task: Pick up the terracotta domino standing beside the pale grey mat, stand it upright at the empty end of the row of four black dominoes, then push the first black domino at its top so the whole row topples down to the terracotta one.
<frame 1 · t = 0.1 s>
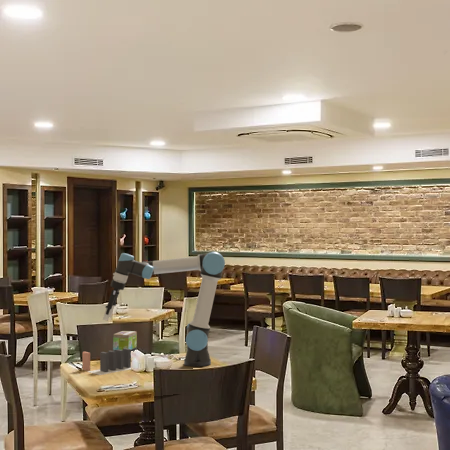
hand: (106, 318, 379), 28 cm above the table, tool tilted 20°, fingers open, 13 cm apart
tea box: (124, 357, 414), on the table
domino mat: (111, 370, 375), on the table
domino 2: (119, 368, 379), resting on domino mat
domino 3: (111, 369, 375), resting on domino mat
domino 1: (126, 367, 383), resting on domino mat
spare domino: (86, 370, 376), on the table
domino 4: (104, 371, 372), resting on domino mat
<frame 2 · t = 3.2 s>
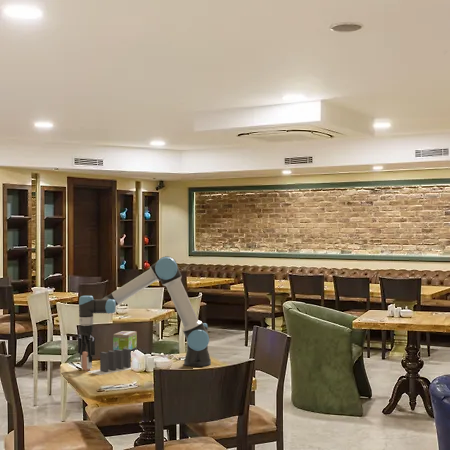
hand: (86, 367, 376), 2 cm above the table, tool pointing down, fingers closed on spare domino, 5 cm apart
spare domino: (86, 370, 376), on the table, touching gripper
everything else where it was.
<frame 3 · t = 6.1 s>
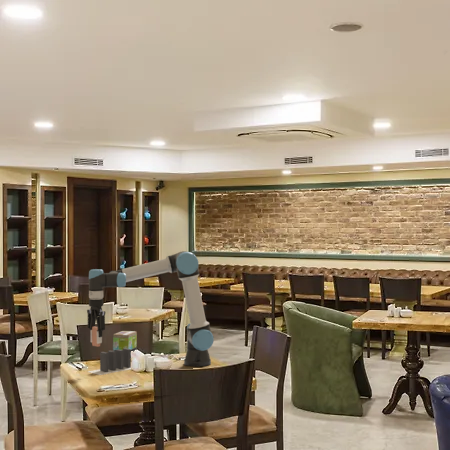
hand: (96, 342, 368), 16 cm above the table, tool pointing down, fingers closed on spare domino, 5 cm apart
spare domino: (96, 345, 368), point 15 cm above the table, touching gripper
everything else where it was.
when the fingers open (3 cm above the table, at t = 9.4 s): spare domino stays where it is, resting on domino mat.
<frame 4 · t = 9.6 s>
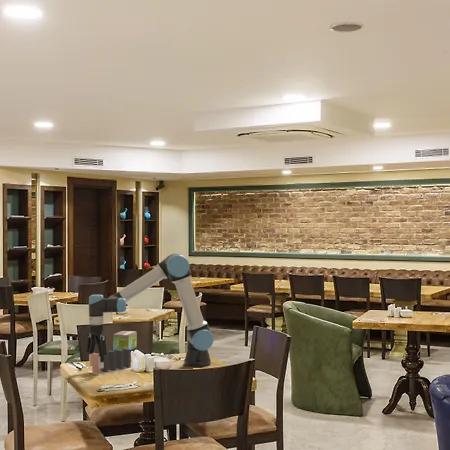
hand: (96, 367, 368), 3 cm above the table, tool pointing down, fingers open, 8 cm apart
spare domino: (96, 372, 368), resting on domino mat
everything else where it was.
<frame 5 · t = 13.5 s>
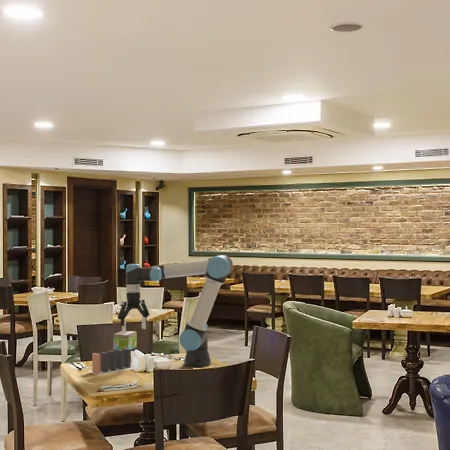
hand: (134, 330, 386), 20 cm above the table, tool pointing down, fingers open, 13 cm apart
nothing on the table moved.
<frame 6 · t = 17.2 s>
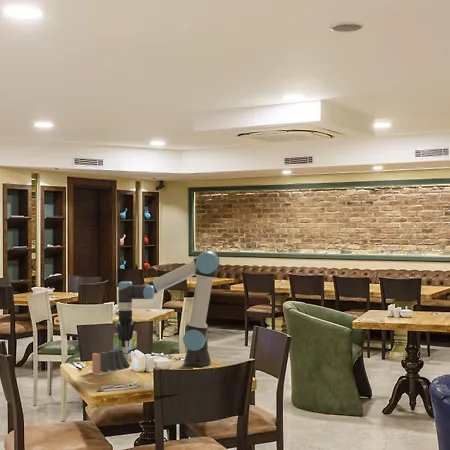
hand: (125, 352, 382), 8 cm above the table, tool pointing down, fingers closed
domino 2: (119, 368, 379), point 1 cm above the table, tilted 17°, touching domino mat
domino 1: (126, 366, 382), point 1 cm above the table, tilted 35°, touching domino mat
everything else where it was.
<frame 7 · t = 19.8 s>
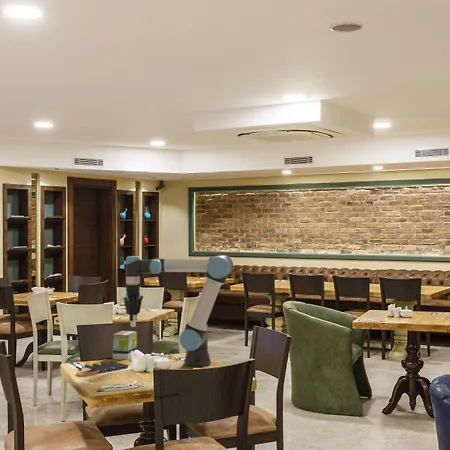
hand: (133, 326, 386), 22 cm above the table, tool pointing down, fingers closed
domino 2: (118, 367, 378), point 1 cm above the table, tilted 72°, touching domino 1, domino 3, domino mat
domino 3: (110, 368, 375), point 1 cm above the table, tilted 71°, touching domino 2, domino 4, domino mat
domino 1: (125, 365, 382), point 1 cm above the table, tilted 72°, touching domino 2
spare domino: (94, 371, 368), point 1 cm above the table, tilted 93°, touching domino 4, domino mat
domino 4: (102, 370, 371), point 1 cm above the table, tilted 71°, touching domino 3, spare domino
everything else where it was.
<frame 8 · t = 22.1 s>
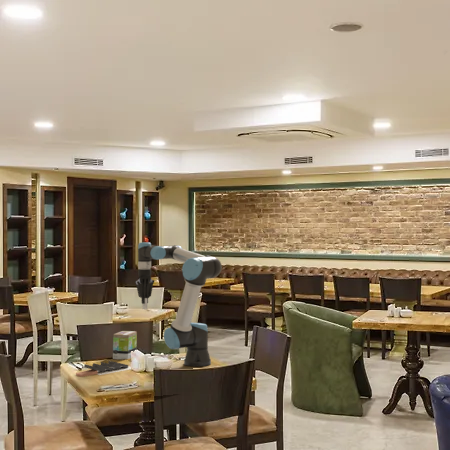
hand: (144, 309, 407), 29 cm above the table, tool pointing down, fingers closed
nothing on the table moved.
at the end: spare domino tilted 93°; domino 4 tilted 71°; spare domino inside the target area (0.5 cm from its centre), point 1.4 cm above the table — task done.
